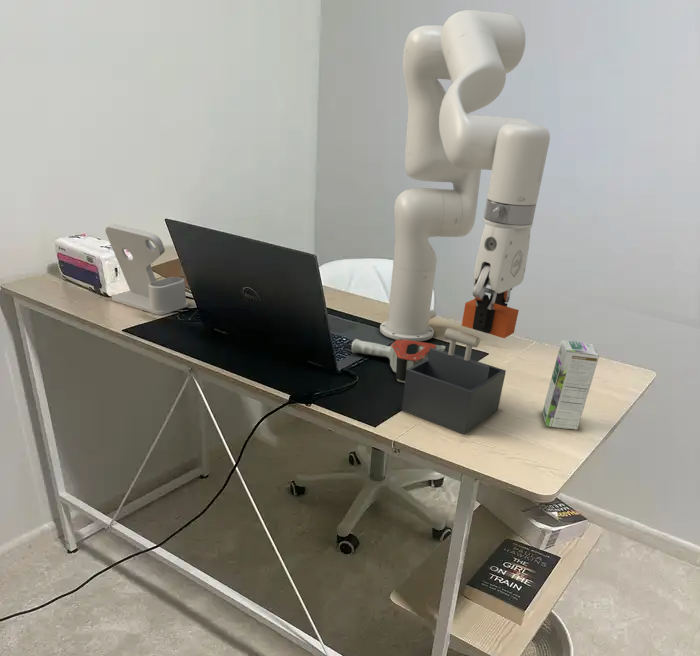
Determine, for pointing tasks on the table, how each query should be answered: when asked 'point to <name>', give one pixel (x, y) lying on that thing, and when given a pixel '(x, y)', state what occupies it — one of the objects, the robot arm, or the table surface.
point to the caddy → (453, 386)
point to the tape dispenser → (397, 353)
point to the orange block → (501, 322)
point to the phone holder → (144, 272)
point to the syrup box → (570, 384)
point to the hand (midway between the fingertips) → (487, 326)
